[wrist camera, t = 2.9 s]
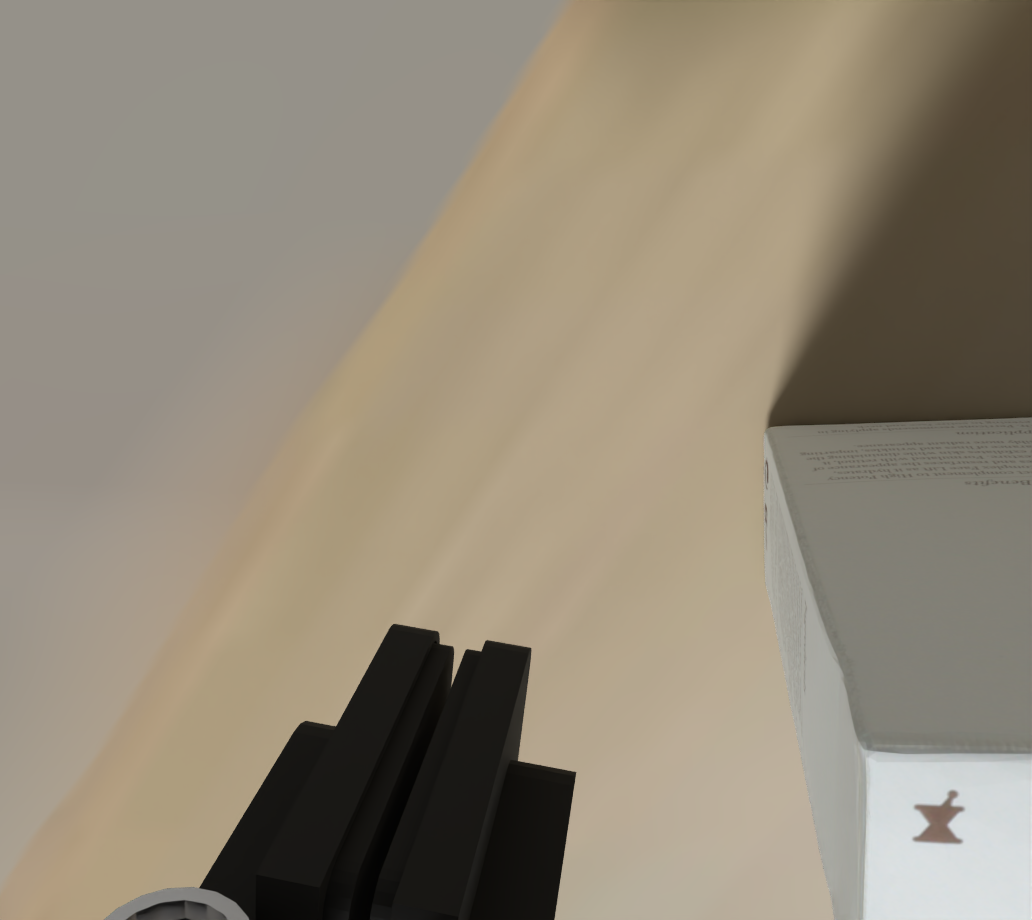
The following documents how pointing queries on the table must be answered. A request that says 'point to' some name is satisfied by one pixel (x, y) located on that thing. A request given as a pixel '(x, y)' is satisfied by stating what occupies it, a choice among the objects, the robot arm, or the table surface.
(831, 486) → the skincare box
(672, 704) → the table surface
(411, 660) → the robot arm
